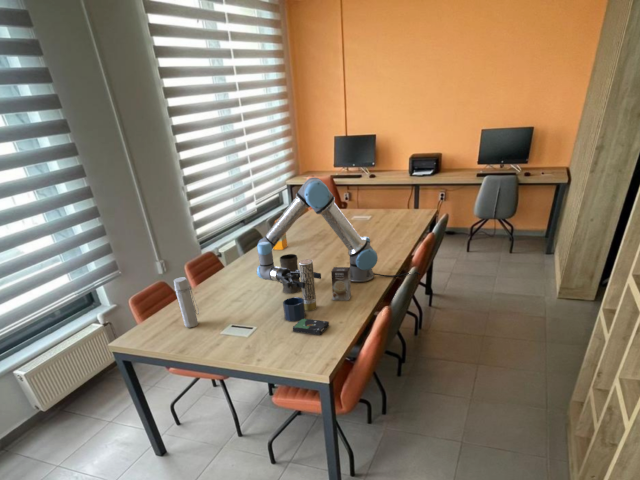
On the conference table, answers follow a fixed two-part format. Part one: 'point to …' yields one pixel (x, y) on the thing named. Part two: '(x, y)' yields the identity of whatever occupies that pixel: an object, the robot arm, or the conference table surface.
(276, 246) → the orange juice
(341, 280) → the coffee box
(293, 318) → the pen pot
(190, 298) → the water bottle
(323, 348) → the conference table surface
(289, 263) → the beer stein
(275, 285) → the conference table surface
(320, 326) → the disk drive
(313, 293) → the paper tube
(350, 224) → the robot arm
